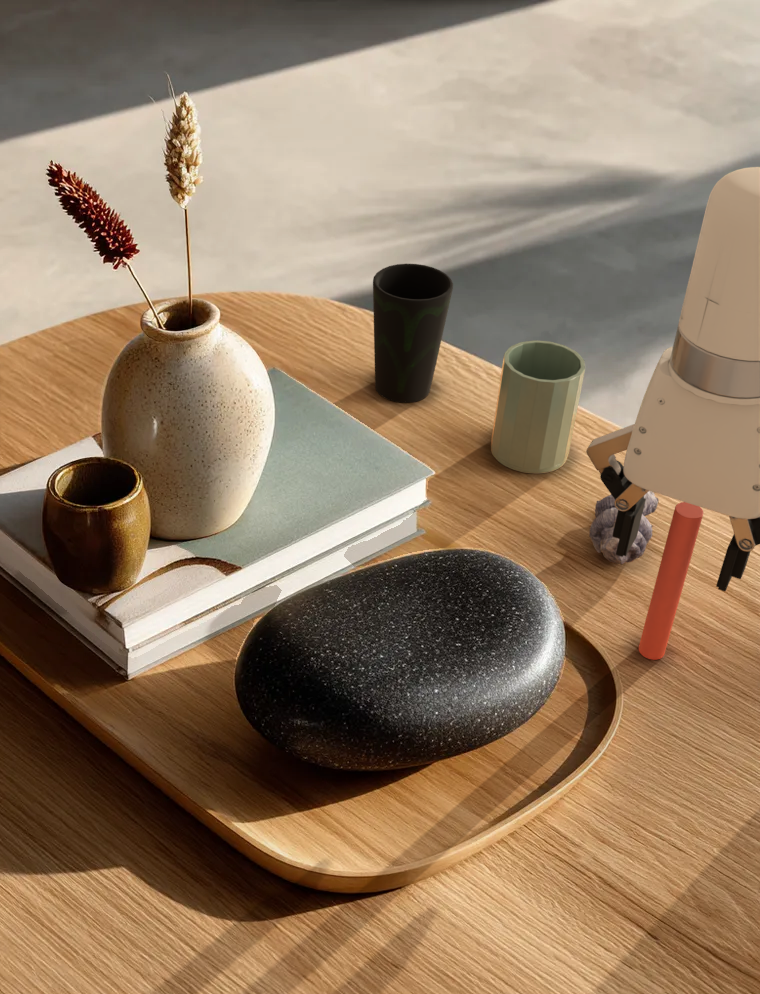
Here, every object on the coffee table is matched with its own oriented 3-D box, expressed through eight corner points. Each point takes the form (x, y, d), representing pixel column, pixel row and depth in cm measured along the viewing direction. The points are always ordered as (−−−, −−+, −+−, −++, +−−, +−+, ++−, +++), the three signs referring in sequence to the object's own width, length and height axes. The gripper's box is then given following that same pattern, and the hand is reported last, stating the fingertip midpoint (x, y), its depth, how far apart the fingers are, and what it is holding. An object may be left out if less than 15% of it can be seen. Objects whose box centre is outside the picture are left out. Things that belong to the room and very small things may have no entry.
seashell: (612, 519, 120) (610, 593, 112) (582, 477, 118) (578, 549, 110) (667, 498, 117) (669, 572, 110) (638, 454, 115) (638, 526, 108)
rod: (667, 648, 105) (706, 507, 97) (660, 663, 104) (699, 521, 95) (642, 639, 106) (679, 498, 97) (635, 654, 104) (671, 512, 96)
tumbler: (577, 444, 127) (595, 353, 121) (552, 482, 122) (569, 390, 116) (507, 422, 130) (521, 333, 124) (479, 458, 125) (492, 367, 119)
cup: (403, 360, 139) (413, 255, 132) (456, 391, 135) (469, 284, 127) (349, 384, 135) (356, 278, 128) (401, 417, 131) (412, 309, 123)
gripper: (877, 367, 88) (804, 573, 99) (620, 300, 95) (579, 500, 105) (856, 421, 83) (782, 633, 93) (586, 346, 89) (546, 552, 100)
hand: (675, 561), depth 99 cm, fingers open, 6 cm apart
